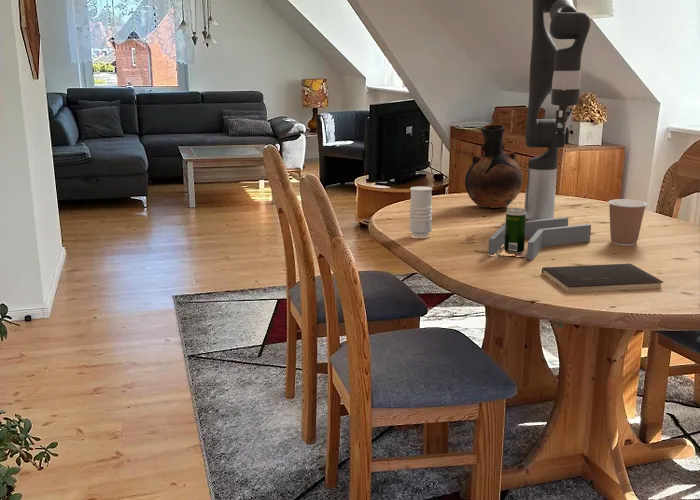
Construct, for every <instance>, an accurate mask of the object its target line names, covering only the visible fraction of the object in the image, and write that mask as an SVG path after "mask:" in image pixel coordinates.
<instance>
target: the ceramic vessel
mask: <svg viewBox="0 0 700 500" xmlns="http://www.w3.org/2000/svg"><path fill="white" fill-rule="evenodd" d="M505 128H506V127H505V125H503V124H499V123H497V124H496V123H489V124H486V125H485V124H484V125H483V126H482V127H481V128H480V131H481V133H482V136H483V142H484V143H483V144H482V149H481V150H482V151H483V152H484V154H483V155H481V156H479V155H474V156H473V157H472V164H471V166H470V167H469V168H468V170H467V171H466V174H465V178H464V186H465V189H466V193H467V194H468V197H469V198H470V200H471V201H472V202H473V203H474V204H475V205H476V206H478V207H479V206H480V207H479V208H487V207H490V209H497V208H498V209H499V208H500V209H501V208H505V207H508V206H509V205H511V204H512V203H513V201H515V199H516V198H517V197H518V195H519V194H520V192H521V190H522V186H523V182H524V180H523V170H522V169H521V166H520V165H519V164H518V162H517V159H516V158H517V157H516V156H517V155H516V152H514V151H510V152H509V153H508V154H506V153H505V152H504V150H505V147H506V146H505V145H506V144H505V143H504V141H503V138H504V137H503V136H504V133H505Z"/></svg>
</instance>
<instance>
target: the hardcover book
mask: <svg viewBox="0 0 700 500" xmlns="http://www.w3.org/2000/svg"><path fill="white" fill-rule="evenodd" d="M542 273H544V274H545V275H546V277H547V276H548V277H549V278H550V279H549V278H548V277H547V278H548V279H549V280H551V281H552V280H553V281H554V282H553V281H552V282H553V283H555V282H556V283H557V284H558V286H559V287H560V286H561V287H562V288H561V287H560V288H561V289H563V290H564V289H565V290H566V292H567V293H568V294H569V293H587V292H589V293H590V292H606V291H607V292H608V291H609V292H610V291H628V290H629V291H631V290H650V289H662V288H661V287H662V284H663V283H664V280H662V279H660V278H657V277H656V276H654V275H652V274H651V273H648V272H646V271H644V269H641V268H640V267H638V266H636V265H634V264H632V263H630V262H629V263H613V264H612V263H611V264H609V263H607V264H587V265H570V266H569V265H567V266H563V265H562V266H546V267H545V266H544V267H542V268H541V274H542ZM544 274H543V275H544ZM545 275H544V276H545ZM556 283H555V284H556ZM557 284H556V285H557ZM565 290H564V291H565Z"/></svg>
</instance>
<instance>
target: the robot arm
mask: <svg viewBox="0 0 700 500" xmlns="http://www.w3.org/2000/svg"><path fill="white" fill-rule="evenodd" d="M546 13H547V14H549V17H550V23H549V31H548V29H547V27H546V23H545V17H544V14H546ZM590 28H591V18H590V16H589V15H588V14H587V13H586V12H584V11H583V12H582V11H578V10H577V9H576V7H575V5H574V1H573V0H532V37H531V39H532V40H531V50H530V51H531V53H530V62H529V63H530V64H529V85H528V86H529V87H528V88H529V89H528V105H527V114H526V115H527V116H526V120H525V121H526V122H525V133H524V138H525V139H524V140H525V145H526V147H528V148H546V149H547V150H546V151H545V152H543V153H541V154H540V155H537V156H534V157H532V158H529V160H528V163H527V165H528V167H527V184H526V189H525V194H524V197H525V198H524V209H525V212H526V220H527V221H532V220H541V219H551V218H554V216H555V204H556V187H557V172H558V169H557V168H558V157H559V156H558V155H559V148H560V149H561V148H564V147H565V145H568V144H569V141H570V140H569V139H570V131H571V128H572V122H573V121H572V117H573V107H572V106H577V105H579V104H580V94H581V93H580V92H581V91H580V90H581V67H582V66H581V65H582V64H581V63H582V53H583V49H584V47H585V42H586V41H587V40H586V39H587V37H588V35H589V32H590ZM552 38H553V39H556V40H574V42H573V43H572V45H570V46H568V47H563V48H560V49H558V47H557V45H556V44H555V42H554V41H553V39H552ZM550 93H551V95H550V96H551V98H550V99H551V100H550V104H551V105H553V106H558V109H556V111H555V118H538V115H539V112H540V108H541V107H542V106H543V104H544V102H545V100H546V99H547V97H548V95H549V94H550Z"/></svg>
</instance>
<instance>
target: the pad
mask: <svg viewBox="0 0 700 500" xmlns="http://www.w3.org/2000/svg"><path fill="white" fill-rule="evenodd" d="M512 256H513V255H512ZM515 256H520V257H525V256H526V257H527V249H524V251H523V253H522V254H517V255H515ZM526 257H525V258H526Z"/></svg>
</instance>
